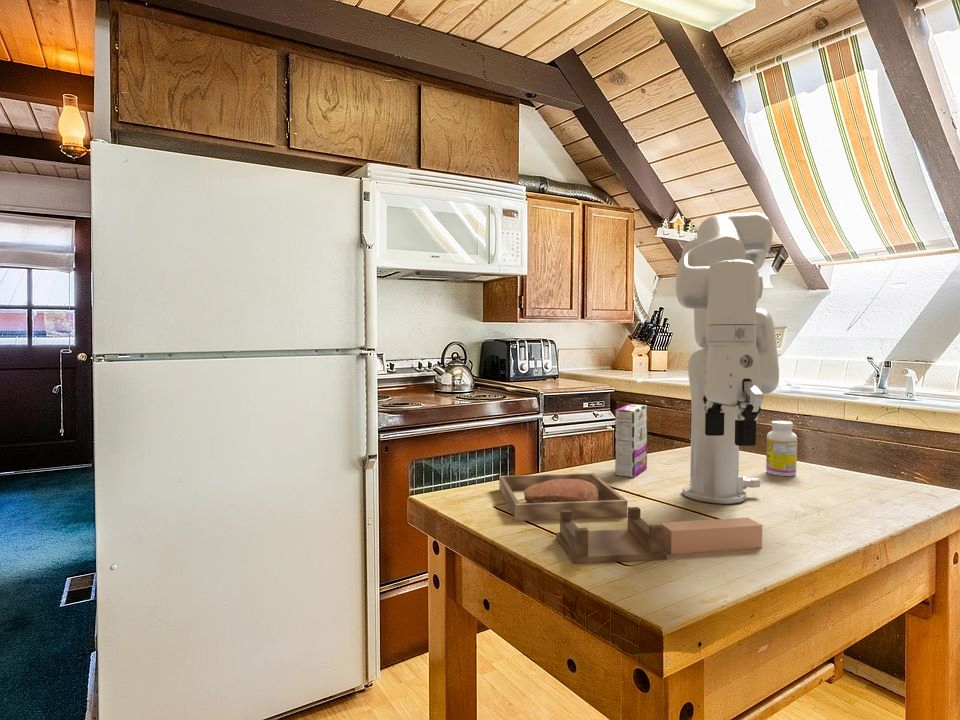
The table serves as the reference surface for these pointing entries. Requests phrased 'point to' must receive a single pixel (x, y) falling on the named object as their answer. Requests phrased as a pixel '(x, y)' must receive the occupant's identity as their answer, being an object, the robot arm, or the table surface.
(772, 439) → the supplement bottle
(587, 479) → the low wooden frame
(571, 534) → the rack
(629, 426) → the candy bar box
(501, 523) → the table surface
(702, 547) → the tan pink long block
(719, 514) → the table surface
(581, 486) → the ceramic shard
